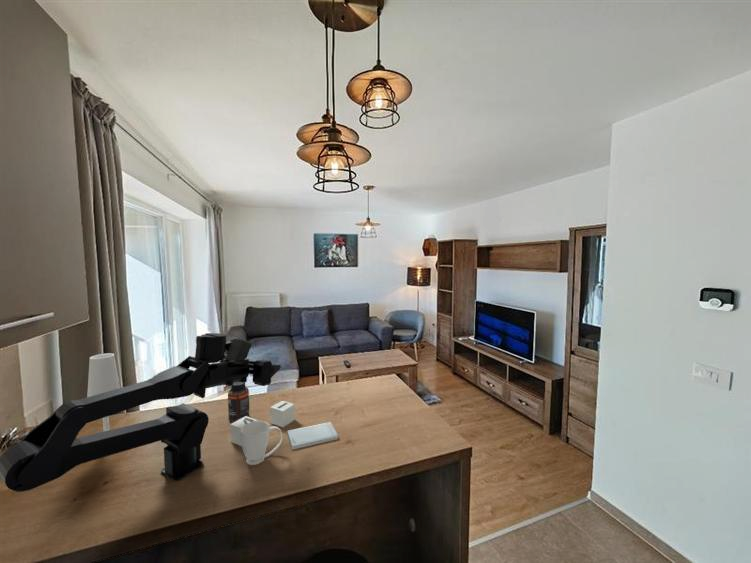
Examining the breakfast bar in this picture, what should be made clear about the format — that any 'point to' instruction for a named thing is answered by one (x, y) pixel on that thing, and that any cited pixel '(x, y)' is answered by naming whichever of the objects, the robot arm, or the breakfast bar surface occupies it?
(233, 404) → the supplement bottle
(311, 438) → the hard drive
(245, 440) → the cup
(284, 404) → the block one
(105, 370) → the champagne flute
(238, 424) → the block seven
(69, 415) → the robot arm
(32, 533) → the breakfast bar surface
